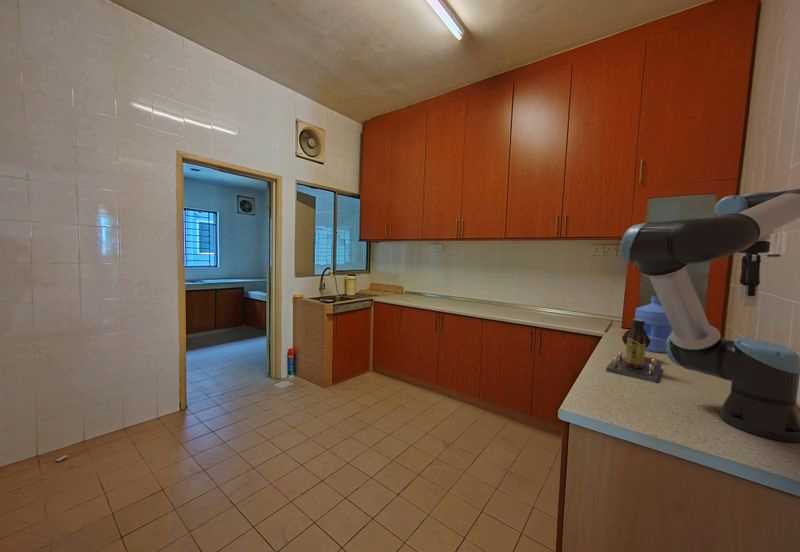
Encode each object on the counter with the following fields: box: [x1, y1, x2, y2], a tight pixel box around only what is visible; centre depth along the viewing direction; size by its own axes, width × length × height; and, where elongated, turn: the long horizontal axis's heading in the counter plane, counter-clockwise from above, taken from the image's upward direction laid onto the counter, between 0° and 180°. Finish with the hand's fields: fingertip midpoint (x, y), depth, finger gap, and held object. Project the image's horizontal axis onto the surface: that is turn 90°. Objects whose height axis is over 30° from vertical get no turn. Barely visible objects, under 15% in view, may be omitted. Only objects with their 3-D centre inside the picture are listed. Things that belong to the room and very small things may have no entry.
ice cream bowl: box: [621, 328, 651, 348], centre depth 145 cm, size 11×11×15 cm
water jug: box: [634, 295, 673, 354], centre depth 162 cm, size 16×16×28 cm
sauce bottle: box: [624, 318, 646, 368], centre depth 128 cm, size 6×6×20 cm
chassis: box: [605, 351, 662, 384], centre depth 129 cm, size 22×16×5 cm
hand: (746, 304), depth 103 cm, fingers open, 13 cm apart
